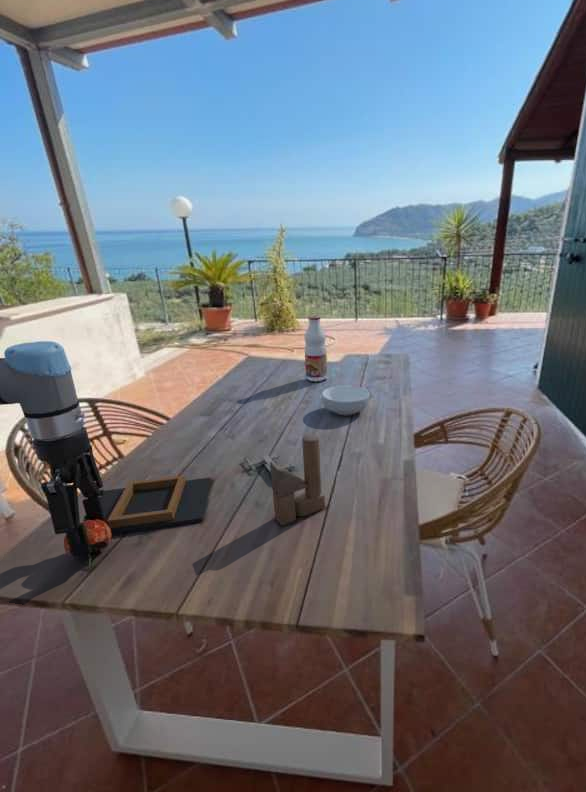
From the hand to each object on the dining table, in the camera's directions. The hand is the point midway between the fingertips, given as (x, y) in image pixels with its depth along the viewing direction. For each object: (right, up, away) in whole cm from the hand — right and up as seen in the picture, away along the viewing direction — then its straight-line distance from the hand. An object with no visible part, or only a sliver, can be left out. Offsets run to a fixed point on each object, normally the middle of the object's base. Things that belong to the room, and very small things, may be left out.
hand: (90, 539), depth 74 cm
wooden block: (+38, +1, +12) cm, 40 cm away
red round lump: (0, -3, +1) cm, 3 cm away
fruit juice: (+32, +32, +98) cm, 108 cm away
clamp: (+28, +7, +29) cm, 41 cm away
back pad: (+4, +2, +14) cm, 15 cm away
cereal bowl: (+47, +20, +65) cm, 83 cm away
